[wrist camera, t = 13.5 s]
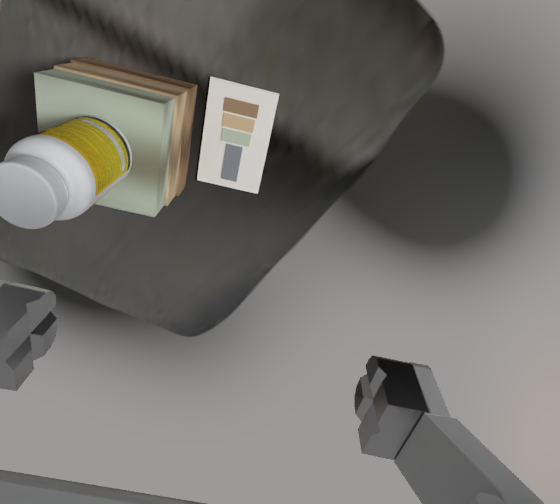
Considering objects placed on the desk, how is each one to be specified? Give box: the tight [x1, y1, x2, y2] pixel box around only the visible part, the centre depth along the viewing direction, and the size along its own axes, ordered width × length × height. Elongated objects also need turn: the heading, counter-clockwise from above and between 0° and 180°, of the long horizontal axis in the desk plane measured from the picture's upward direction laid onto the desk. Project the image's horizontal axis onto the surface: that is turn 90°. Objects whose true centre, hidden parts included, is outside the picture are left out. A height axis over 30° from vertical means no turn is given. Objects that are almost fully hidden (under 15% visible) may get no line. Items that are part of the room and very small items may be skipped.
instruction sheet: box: [197, 76, 279, 194], centre depth 38 cm, size 10×6×1 cm, turn 167°
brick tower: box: [34, 57, 197, 217], centre depth 34 cm, size 10×10×9 cm
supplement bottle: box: [0, 116, 132, 229], centre depth 26 cm, size 5×5×10 cm
